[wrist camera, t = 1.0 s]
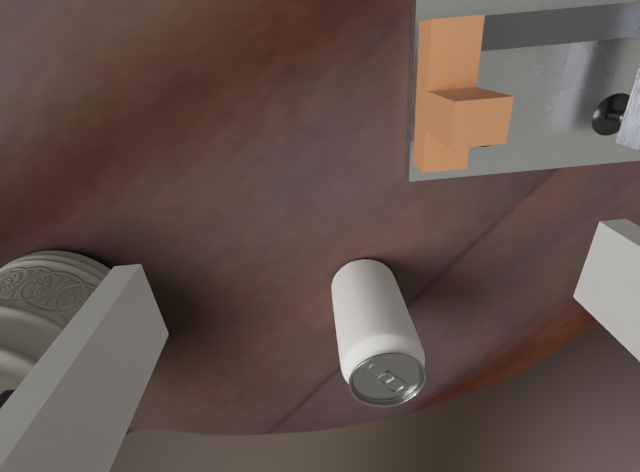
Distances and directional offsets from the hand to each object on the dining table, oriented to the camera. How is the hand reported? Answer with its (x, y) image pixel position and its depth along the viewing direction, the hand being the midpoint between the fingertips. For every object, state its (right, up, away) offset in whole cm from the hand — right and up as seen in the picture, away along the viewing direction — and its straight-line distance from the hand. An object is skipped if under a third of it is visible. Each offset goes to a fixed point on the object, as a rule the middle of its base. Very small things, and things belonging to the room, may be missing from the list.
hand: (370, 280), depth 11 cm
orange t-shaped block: (+6, +12, +16) cm, 21 cm away
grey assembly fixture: (+15, +13, +17) cm, 27 cm away
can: (+3, -3, +26) cm, 26 cm away
